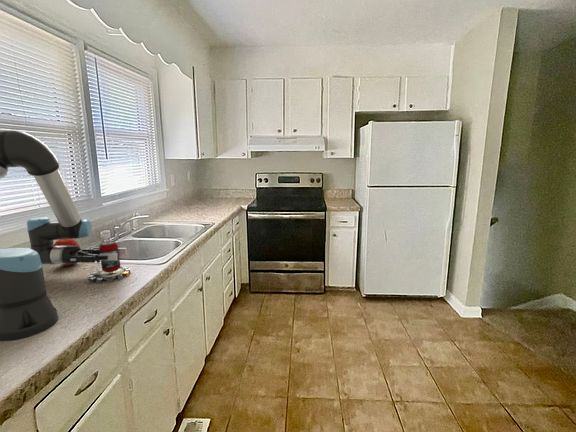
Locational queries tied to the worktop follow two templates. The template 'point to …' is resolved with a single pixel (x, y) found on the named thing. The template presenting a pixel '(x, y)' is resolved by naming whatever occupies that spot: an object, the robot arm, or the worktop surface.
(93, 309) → the worktop surface
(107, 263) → the beverage can
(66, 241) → the apple
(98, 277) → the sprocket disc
